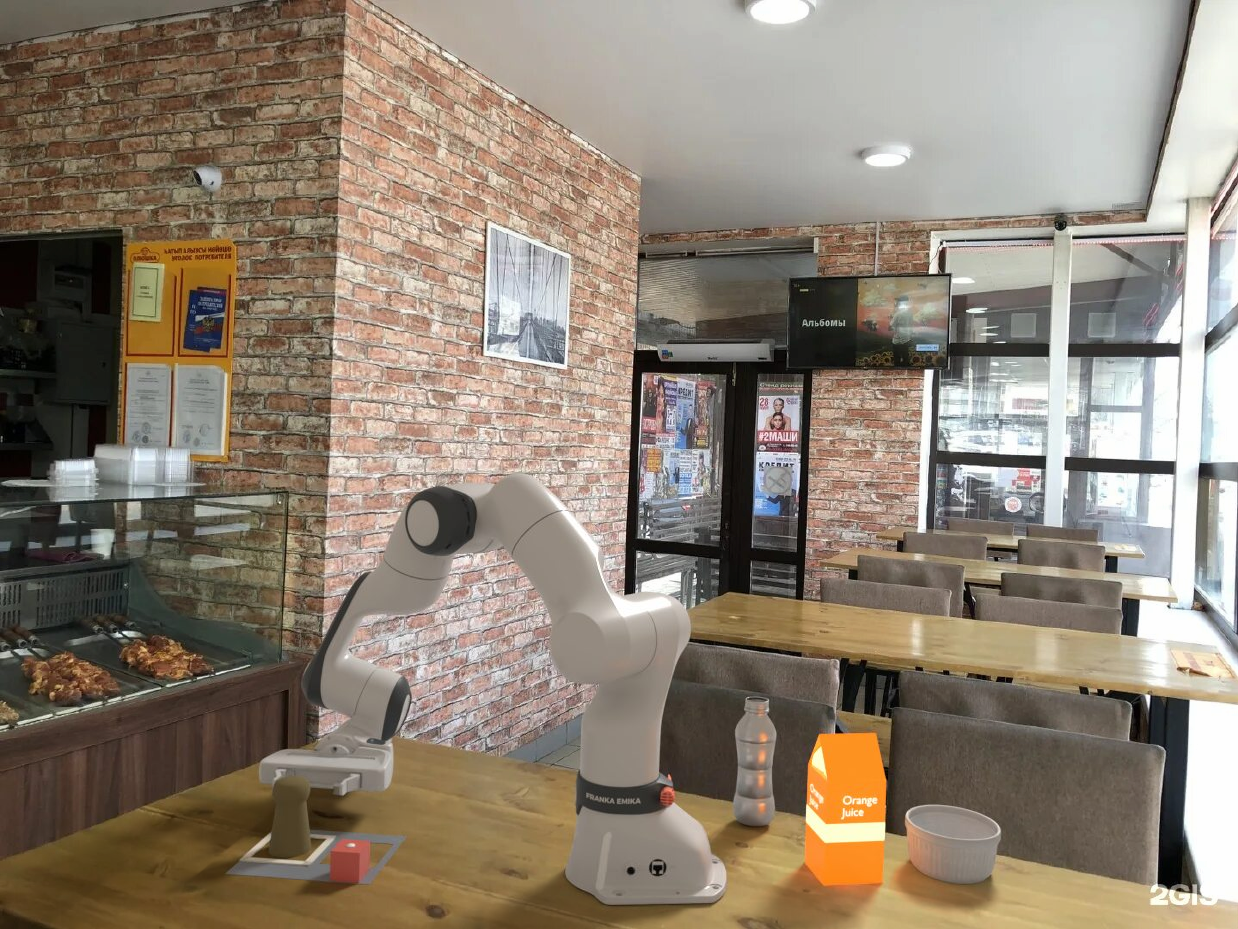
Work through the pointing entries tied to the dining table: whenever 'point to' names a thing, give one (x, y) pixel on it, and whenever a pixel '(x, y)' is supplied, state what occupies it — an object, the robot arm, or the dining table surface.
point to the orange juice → (846, 810)
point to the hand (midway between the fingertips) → (307, 788)
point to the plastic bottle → (755, 764)
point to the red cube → (350, 860)
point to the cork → (290, 817)
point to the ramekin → (952, 843)
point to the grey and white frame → (312, 858)
